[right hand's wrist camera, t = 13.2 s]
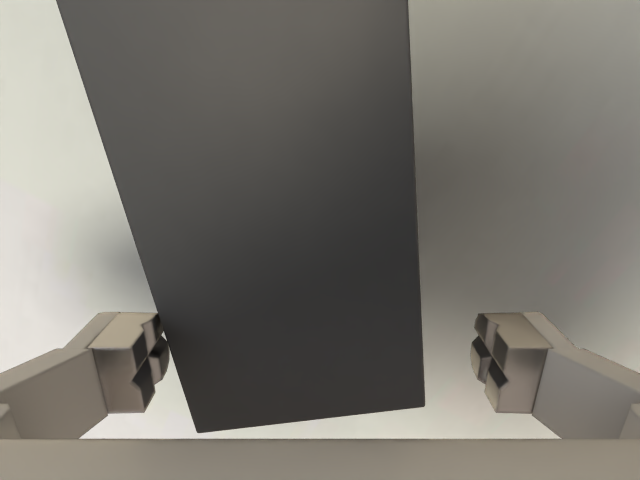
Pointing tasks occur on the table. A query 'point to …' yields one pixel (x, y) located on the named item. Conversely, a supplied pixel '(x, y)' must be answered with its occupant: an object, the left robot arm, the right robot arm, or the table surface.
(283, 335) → the box
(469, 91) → the table surface
